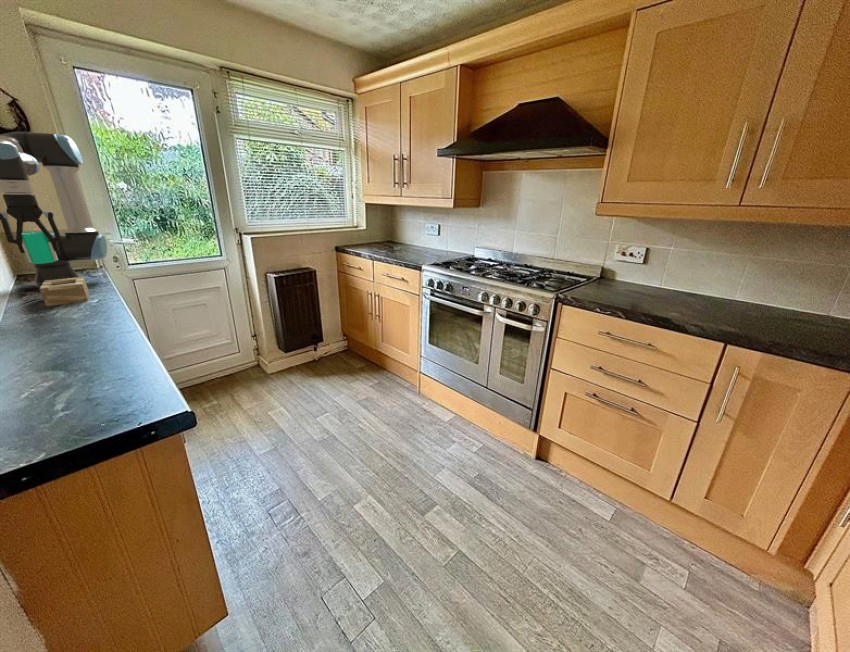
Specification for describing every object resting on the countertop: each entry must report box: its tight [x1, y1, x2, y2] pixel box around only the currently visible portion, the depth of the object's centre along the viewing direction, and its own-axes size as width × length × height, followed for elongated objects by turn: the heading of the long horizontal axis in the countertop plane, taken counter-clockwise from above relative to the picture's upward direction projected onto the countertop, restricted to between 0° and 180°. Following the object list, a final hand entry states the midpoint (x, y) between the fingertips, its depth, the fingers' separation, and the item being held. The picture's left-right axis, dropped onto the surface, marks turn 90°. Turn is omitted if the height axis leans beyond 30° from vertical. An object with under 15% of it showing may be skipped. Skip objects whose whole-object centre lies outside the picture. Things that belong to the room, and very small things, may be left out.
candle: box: [22, 228, 55, 265], centre depth 126 cm, size 6×6×12 cm
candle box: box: [39, 276, 90, 307], centre depth 144 cm, size 16×12×7 cm
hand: (43, 260), depth 128 cm, fingers closed on candle, 6 cm apart
